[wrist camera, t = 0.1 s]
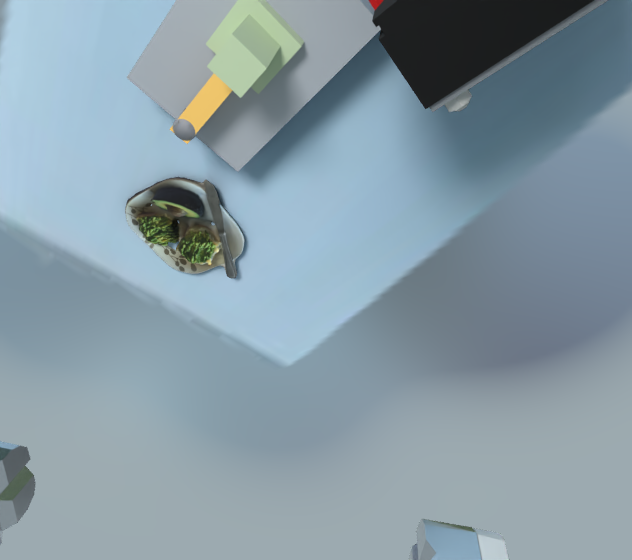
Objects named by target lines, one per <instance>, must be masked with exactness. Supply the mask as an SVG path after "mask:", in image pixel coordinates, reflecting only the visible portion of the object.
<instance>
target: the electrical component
mask: <svg viewBox="0 0 632 560" xmlns="http://www.w3.org/2000/svg"><path fill="white" fill-rule="evenodd" d="M606 1H608V0H369V2H370V4H371V5H372V7H373V8H374V10H375V11H374V15H373V19H372V22H373V23H374V25H375V26H376V27H377V26H378V25H379V27H380V28H381V32H380V38H379V40H380V42H381V43H382V45H383V46H384V48H385V49H386V51H387V52H388V54H389V55H390V57H391V58H392V60H393V61H394V63H395V64H396V66H397V67H398V69H399V70H400V72H401V73H402V75H403V76H404V78H405V79H406V81H407V82H408V84H409V85H410V87H411V88H412V90H413V91H414V93H415V94H416V96H417V97H418V99H419V100H420V102H421V103H422V105H423V106H424V108H425V109H427V108H428V107H429V108H430V109H431V111H432V112H434V111H435V110H437V109H438V108H440V107H442V106H443V105H445V106H446V108H447V109H448V111H449V112H452V111H461V110H463V109H464V108H466V107H467V105H468V104H469V102H470V101H469V100H470V99H471V97H472V95H471V93H470V91H469V90H468V89H470V88H471V87H473V86H475V85H476V84H478V83H479V82H481V81H482V80H484V79H486V78H487V77H489V76H490V75H492V74H493V73H495V72H497V71H498V70H500V69H501V68H503V67H504V66H506V65H507V64H509V63H511V62H512V61H514V60H515V59H517V58H518V57H520V56H522V55H523V54H525V53H526V52H528V51H529V50H531V49H533V48H534V47H536V46H537V45H539V44H540V43H542V42H544V41H545V40H547V39H548V38H550V37H551V36H553V35H555V34H556V33H558V32H559V31H561V30H562V29H564V28H566V27H567V26H569V25H570V24H572V23H573V22H575V21H577V20H578V19H580V18H581V17H583V16H584V15H586V14H588V13H589V12H591V11H592V10H594V9H595V8H597V7H599V6H600V5H602V4H603V3H605V2H606Z"/></svg>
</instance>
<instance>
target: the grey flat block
mask: <svg viewBox="0 0 632 560" xmlns="http://www.w3.org/2000/svg"><path fill="white" fill-rule="evenodd" d="M237 1H238V0H176V2H175V3H174V5H173V6H172V8H171V9H170V11H169V13H168V14H167V16H166V17H165V19H164V20H163V22H162V23H161V25H160V27H159V28H158V30H157V31H156V33H155V34H154V36H153V37H152V39H151V40H150V42H149V44H148V45H147V47H146V48H145V50H144V51H143V53H142V54H141V56H140V58H139V59H138V61H137V62H136V64H135V65H134V67H133V68H132V70H131V72H130V73H129V75H128V76H127V79H129V80H130V81H131V82H132V83H133V84H135V85H136V86H137V87H138V88H139V89H141V90H142V91H143V92H144V93H145V94H146V95H148V96H149V97H150V98H151V99H152V100H154V101H155V102H156V103H157V104H158V105H159V106H161V107H162V108H163V109H164V110H165V111H167V112H168V113H169V114H170V115H171V116H172V117H174V118H175V119H177V118H178V117H179V115H180V114H181V113H182V112H183V110H184V109H185V108H187V107H188V105H189V104H190V103H191V102H192V100H193V99H194V98H195V97H196V95H197V94H198V93H199V91H200V90H201V89H202V88H203V86H204V85H205V84H206V83H207V81H208V80H209V79H210V78H211V76H212V75H213V74H214V73H213V72H212V71H211V70H210V69H209V68H208V67H207V65H208V64H209V63H210V62H211V60H212V59H213V58H214V56H215V55H216V54H215V53H214V52H213V51H212V50H211V49H210V48H209V47H208V46H207V45H206V43H207V41H208V40H209V39H210V37H211V36H212V35H213V33H214V32H215V30H216V29H217V28H218V26H219V25H220V24H221V22H222V21H223V20H224V18H225V17H226V16H227V14H228V13H229V12H230V10H231V9H232V7H233V6H234V5H235V3H236V2H237ZM266 1H267V2H268V3H269V5H270V6H271V7H272V8H273V9H274V10H275V11H276V12H277V13H278V14H279V15H280V16H281V17H282V18H283V19H284V20H285V21H286V23H287V24H288V25H289V26H290V27H291V28H292V29H293V30H294V31H295V32H296V33H297V34H298V35H299V36H300V37H301V38H302V39H303V40H304V43H303V45H302V46H301V48H300V49H299V50H298V51H297V52H296V53H295V54H294V55H293V56H292V58H291V59H290V60H289V61H288V62H287V63H286V64H285V65H284V66H283V68H282V69H281V70H280V71H279V72H278V73H277V74H276V75H275V76H274V78H273V79H272V80H271V81H270V82H269V83H268V84H267V85H266V86H265V88H264V89H263V90H262V91H261V92H260V93H259V94H258V93H256V92H255V91H254V90H253V89H252V88H251V87H250V88H249V89H248V90H247V91H246V93H245V94H244V95H243V96H242V97H241V98H240V97H239V96H238V95H237V94H236V93H235V92H234V91H232V92H231V93H230V94H229V95H228V97H227V98H226V99H225V100H224V101H223V102H222V104H221V105H220V106H219V107H218V108H217V109H216V111H215V112H214V113H213V114H212V115H211V117H210V118H209V119H208V120H207V121H206V122H205V124H204V125H203V126H202V127H201V128H200V130H199V131H198V132H197V134H196V135H195V136H196V137H197V138H198V139H200V140H201V141H202V142H203V143H204V144H206V145H207V146H208V147H209V148H210V149H211V150H213V151H214V152H215V153H216V154H217V155H219V156H220V157H221V158H222V159H223V160H225V161H226V162H227V163H228V164H229V165H230V166H232V167H233V168H234V169H235V170H236V171H239V170H240V169H241V168H242V167H243V166H244V165H245V164H246V163H247V162H248V161H249V160H250V159H251V158H252V157H253V156H254V155H255V154H256V153H257V152H258V151H259V150H260V149H261V148H262V147H263V146H264V145H265V144H266V143H267V142H268V141H269V140H270V139H271V138H272V137H273V136H274V135H275V134H276V133H277V132H278V131H279V130H280V129H281V128H282V127H283V126H284V125H285V124H286V123H287V122H288V121H289V120H290V119H291V118H292V117H293V116H294V115H295V114H296V113H297V112H298V111H299V110H300V109H301V108H302V107H303V106H304V105H305V104H306V103H307V102H309V101H310V100H311V99H312V98H313V97H314V96H315V95H316V94H317V93H318V92H319V91H320V90H321V89H322V88H323V87H324V86H325V85H326V84H327V83H328V82H329V81H330V80H331V79H332V78H333V77H334V76H335V75H336V74H337V73H338V72H339V71H340V70H341V69H342V68H343V67H344V66H345V65H346V64H347V63H348V62H349V61H350V60H351V59H352V58H353V57H354V56H355V55H356V54H357V53H358V52H359V51H360V50H361V49H362V48H363V47H364V46H365V45H366V44H367V43H368V42H369V41H370V40H371V39H372V38H373V37H374V36H375V35H376V34H377V33H378V32H379V31H380V30H381V28H380V27H379V25H378V26H377V27H376V26H375V25H374V23H373V22H372V19H373V15H374V11H375V10H374V8H373V7H372V5H371V4H370V2H369V0H266Z"/></svg>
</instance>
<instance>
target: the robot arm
mask: <svg viewBox="0 0 632 560" xmlns="http://www.w3.org/2000/svg"><path fill="white" fill-rule="evenodd" d="M29 460H30V456H29V452H28V449H27V447H24V446H19V445H15V444H10V443H5V442H1V441H0V544H1V543H2V531H3V530H5V529H7V528H9V527H10V526H12V525H14V524H16V523H18V521H19V520H20V519H21V517H22V516H23V515H24V513H25V512H26V510H27V509H28V507H29V505H30V503H31V500H32V498H33V496H34V491H35V479H34V475H33V474H32V473H31V471H30V470H29V469H28V468H27V467H26V466H25V465H26V464H27V463H28V461H29ZM409 560H509V556H508V552H507V548H506V544H505V540H504V538H503V536H502V535H501V533H497V532H491V531H486V530H480V529H475V528H472V527H467V526H461V525H455V524H449V523H444V522H438V521H431V520H426V519H421V521H420V522H419V525H418V528H417V544H415V545H414V546H412V549H411V553H410V557H409Z"/></svg>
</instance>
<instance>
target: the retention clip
mask: <svg viewBox="0 0 632 560" xmlns="http://www.w3.org/2000/svg"><path fill="white" fill-rule="evenodd" d="M232 91H233V90H231V89H230V88H229V87H228V86H227V85H226V84H225V83H224V82H223V81H222V80H221V79H220V78H219V77H217V76H216V75H215V74H213V75H212V76H211V78H210V79H209V80H208V81H207V83H206V84H205V85H204V86H203V88H202V89H201V90H200V91H199V93H198V94H197V95H196V97H195V98H194V99H193V100H192V102H191V103H190V104H189V105H188V107H187V108H185V109H184V110H183V112H182V113H181V114H180V115H179V117H178V118H177V119H176V120H175V122H174V123H173V126H172V127H171V128H170V130H171V131H172V132H173V133H175V135H176V136H177V137H178V138H180V139H182V140H183V141H184V142H186V143H187V144H188V143H189V141H190V140H192V139H193V138H194V137H195V135H196V134H197V132H198V131H199V130H200V128H201V127H202V126H203V125H204V124H205V122H206V121H207V120H208V119H209V118H210V117H211V115H212V114H213V113H214V112H215V111H216V109H217V108H218V107H219V106H220V105H221V104H222V102H223V101H224V100H225V99H226V98H227V97H228V95H229V94H230V93H231V92H232Z"/></svg>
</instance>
